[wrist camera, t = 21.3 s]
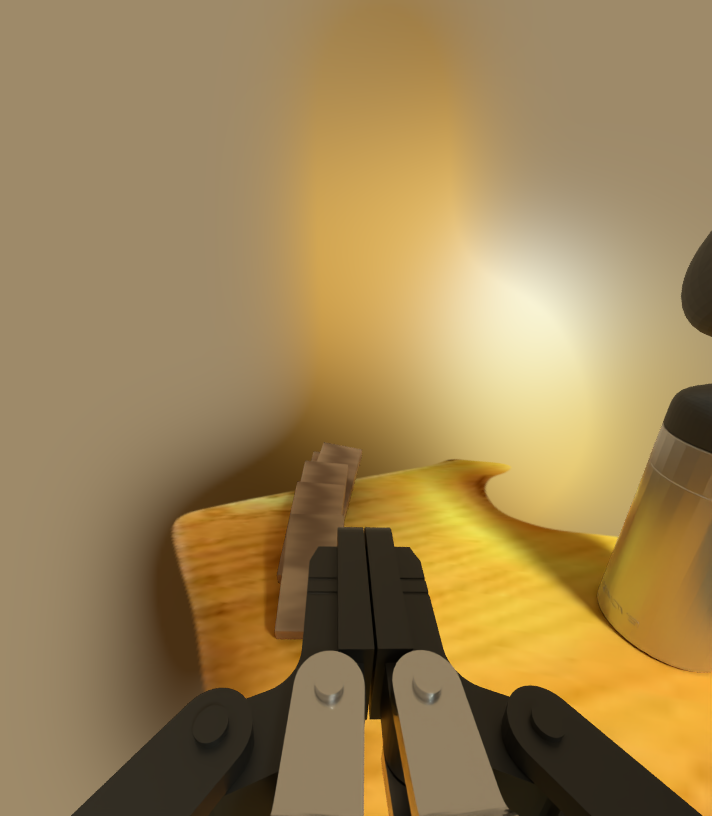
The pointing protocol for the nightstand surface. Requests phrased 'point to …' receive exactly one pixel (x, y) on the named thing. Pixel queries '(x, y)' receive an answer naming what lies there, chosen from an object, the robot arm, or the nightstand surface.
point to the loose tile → (301, 568)
